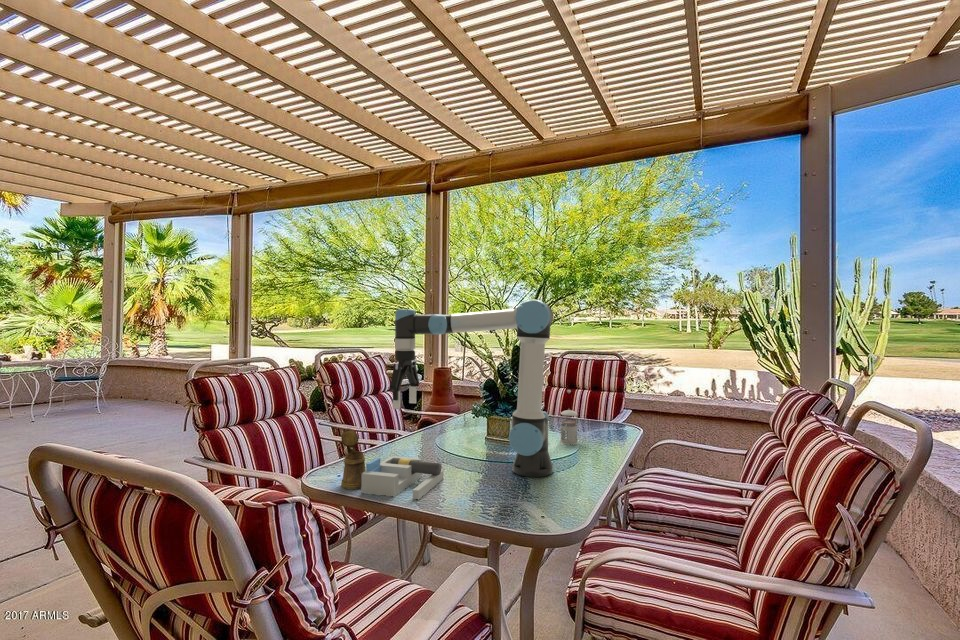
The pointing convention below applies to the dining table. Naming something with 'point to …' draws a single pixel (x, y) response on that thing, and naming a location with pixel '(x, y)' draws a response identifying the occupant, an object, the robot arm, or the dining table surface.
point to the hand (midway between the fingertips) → (404, 406)
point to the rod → (419, 466)
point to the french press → (569, 428)
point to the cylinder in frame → (394, 478)
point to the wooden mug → (352, 461)
